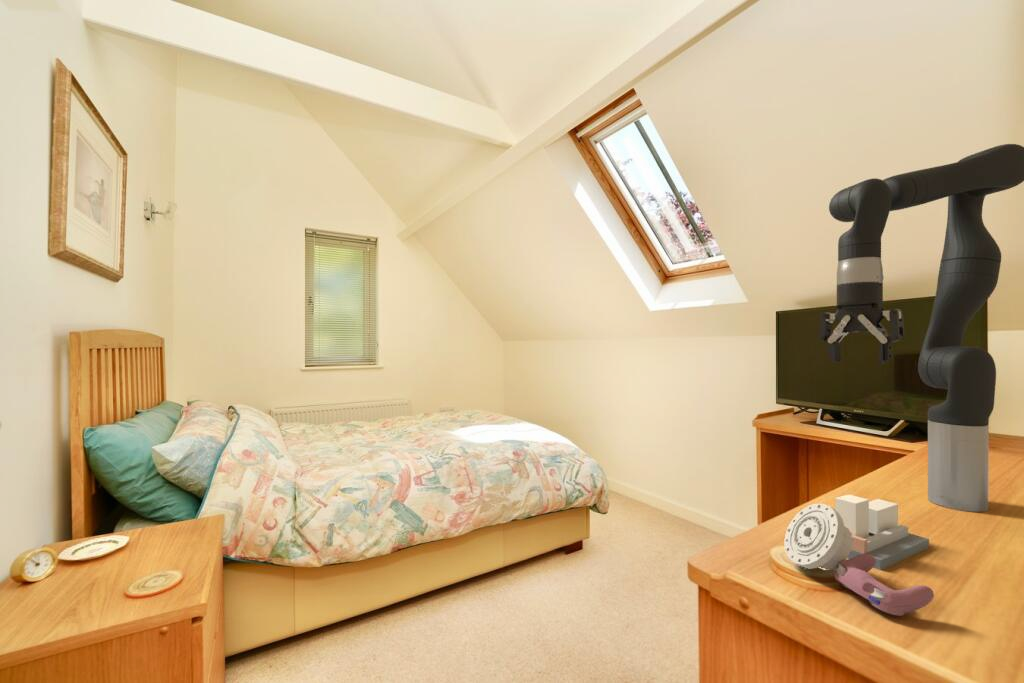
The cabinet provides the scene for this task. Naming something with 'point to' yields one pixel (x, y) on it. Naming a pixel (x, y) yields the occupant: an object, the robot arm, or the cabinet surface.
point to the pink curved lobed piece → (880, 587)
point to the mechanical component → (818, 538)
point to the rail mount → (882, 545)
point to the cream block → (882, 516)
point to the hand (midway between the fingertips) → (859, 362)
